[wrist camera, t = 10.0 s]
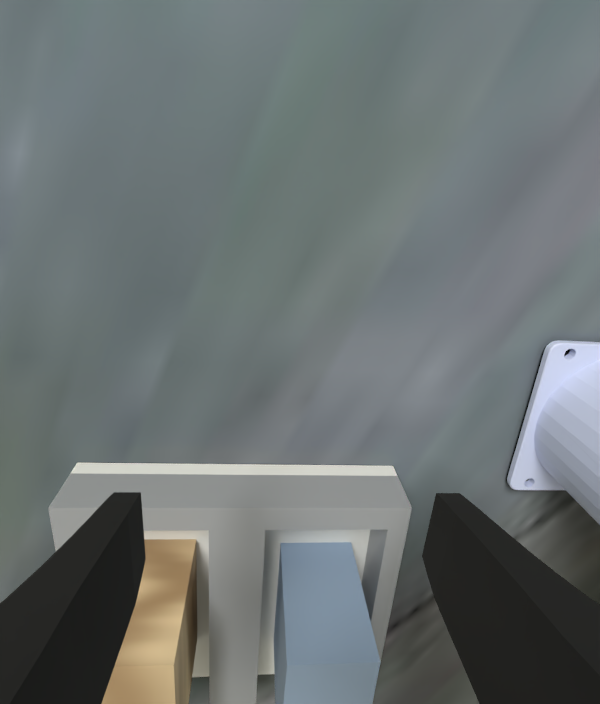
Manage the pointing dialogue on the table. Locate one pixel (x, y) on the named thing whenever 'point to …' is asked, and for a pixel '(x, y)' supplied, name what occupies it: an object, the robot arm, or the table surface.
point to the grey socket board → (251, 543)
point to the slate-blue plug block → (322, 628)
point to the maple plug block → (160, 629)
